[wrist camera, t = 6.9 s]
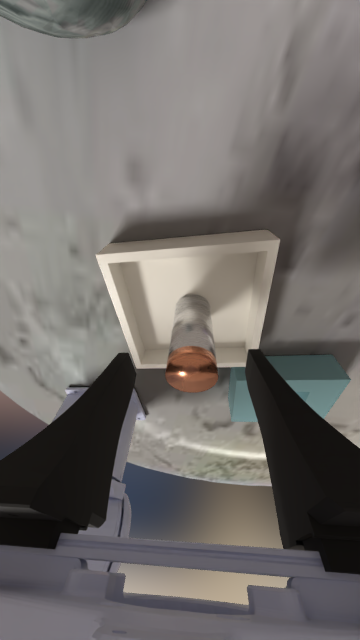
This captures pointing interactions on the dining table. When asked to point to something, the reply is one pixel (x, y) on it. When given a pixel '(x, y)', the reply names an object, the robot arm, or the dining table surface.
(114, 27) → the grey green streaked cylinder
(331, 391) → the teal socket block
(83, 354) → the dining table surface
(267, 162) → the dining table surface
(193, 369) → the copper-capped cylinder
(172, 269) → the tray
